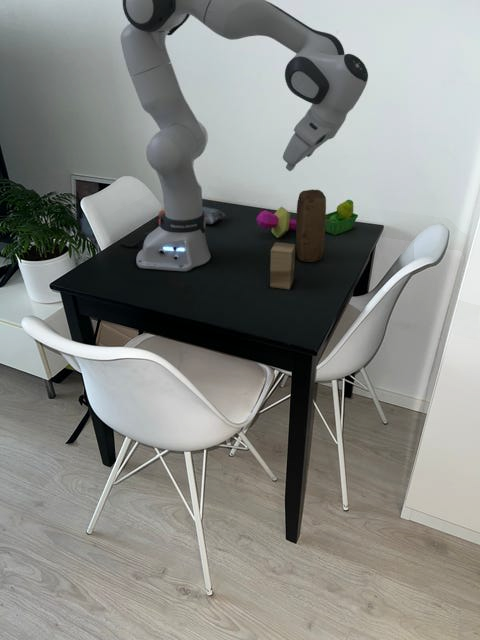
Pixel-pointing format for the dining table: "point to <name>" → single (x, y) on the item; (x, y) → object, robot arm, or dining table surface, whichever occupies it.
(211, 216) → the packaged food
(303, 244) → the block
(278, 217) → the toy
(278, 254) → the maple block
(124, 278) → the dining table surface
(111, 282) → the dining table surface
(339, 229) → the fruit basket
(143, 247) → the robot arm
